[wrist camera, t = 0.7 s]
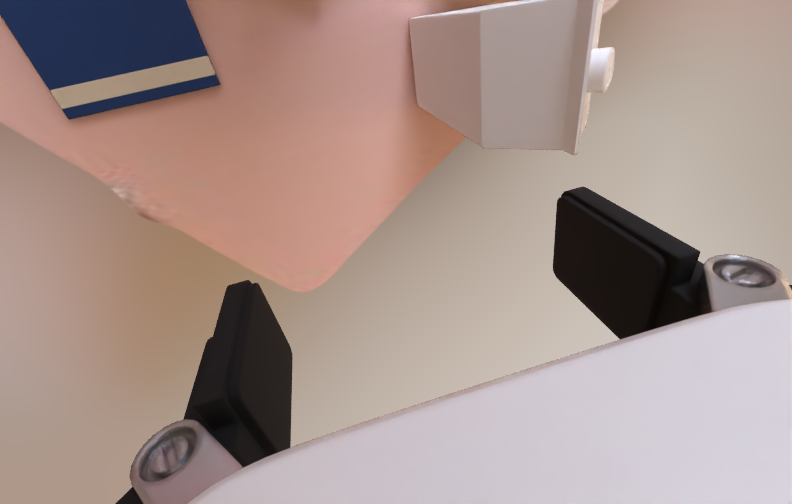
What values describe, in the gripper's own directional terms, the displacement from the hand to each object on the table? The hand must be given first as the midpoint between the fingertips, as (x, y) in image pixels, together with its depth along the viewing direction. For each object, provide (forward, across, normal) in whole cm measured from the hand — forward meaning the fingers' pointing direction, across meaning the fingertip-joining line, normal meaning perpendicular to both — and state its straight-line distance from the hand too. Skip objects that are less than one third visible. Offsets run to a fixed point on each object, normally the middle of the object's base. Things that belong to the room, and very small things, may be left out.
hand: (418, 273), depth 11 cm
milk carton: (+27, -11, -2) cm, 29 cm away
